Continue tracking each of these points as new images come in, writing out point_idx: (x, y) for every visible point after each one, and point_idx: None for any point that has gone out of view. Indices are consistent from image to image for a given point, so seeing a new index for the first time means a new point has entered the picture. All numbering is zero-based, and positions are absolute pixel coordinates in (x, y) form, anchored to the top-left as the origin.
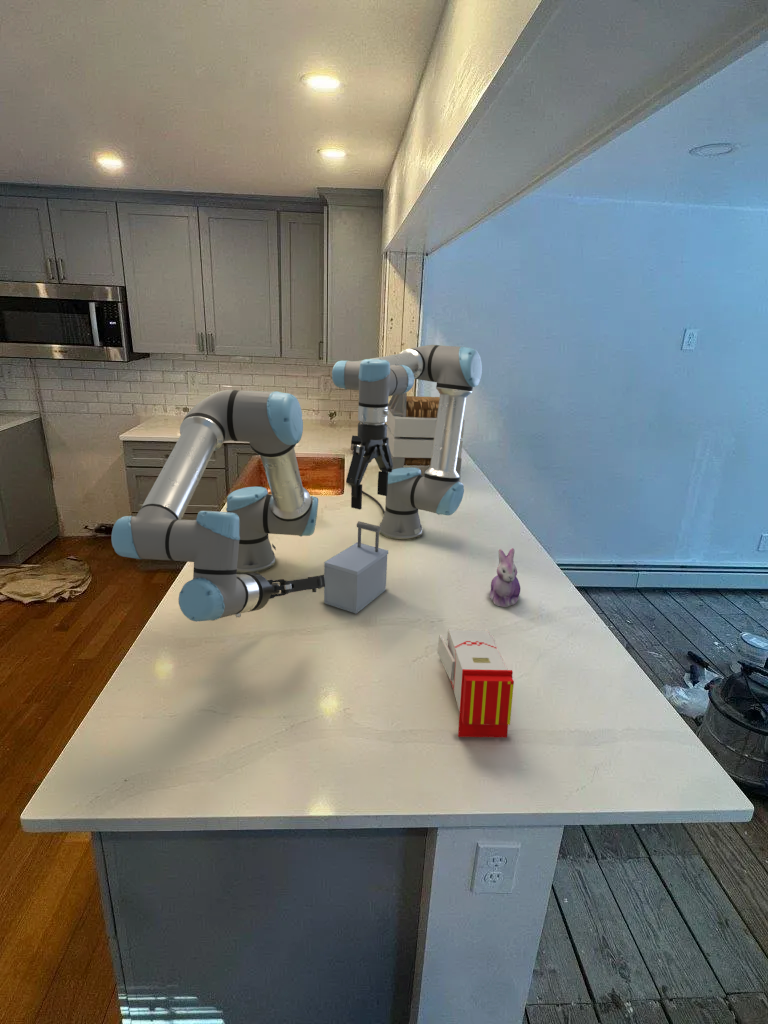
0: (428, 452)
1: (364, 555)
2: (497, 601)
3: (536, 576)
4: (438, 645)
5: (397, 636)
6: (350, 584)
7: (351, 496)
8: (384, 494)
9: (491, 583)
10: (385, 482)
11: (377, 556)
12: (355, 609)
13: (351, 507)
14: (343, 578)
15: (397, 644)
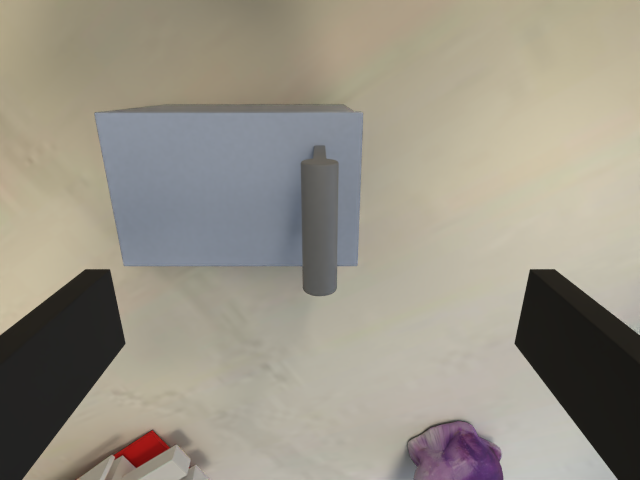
0: None
1: (258, 215)
2: (412, 450)
3: (598, 466)
4: (104, 469)
5: (164, 335)
6: None
7: (16, 324)
8: (522, 339)
9: (458, 447)
10: (592, 430)
11: (280, 260)
12: None
13: (84, 274)
14: None
15: (139, 347)
